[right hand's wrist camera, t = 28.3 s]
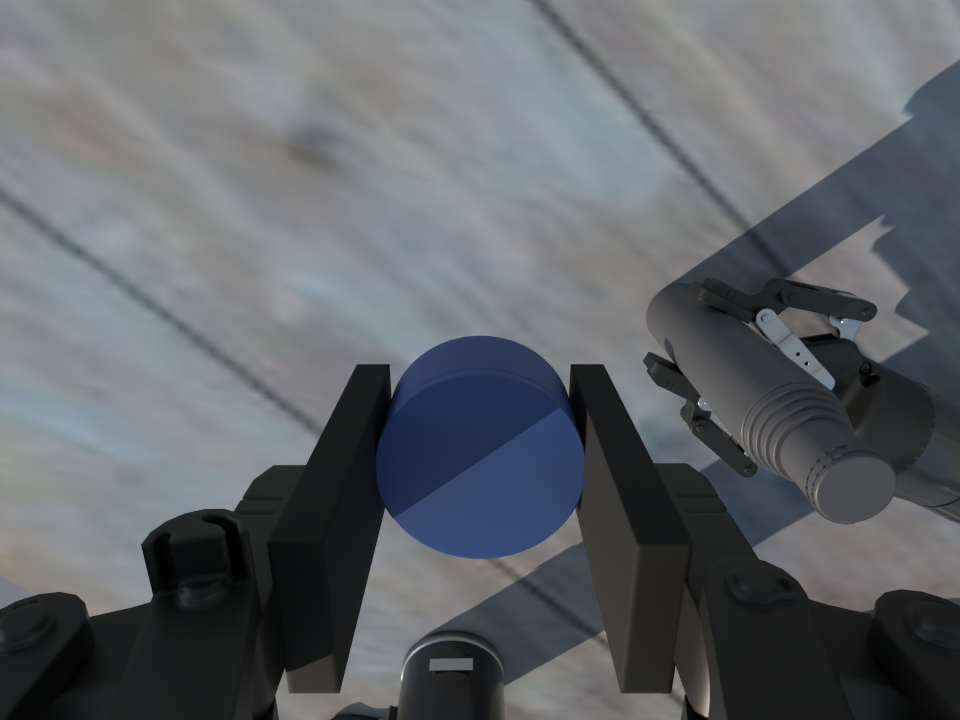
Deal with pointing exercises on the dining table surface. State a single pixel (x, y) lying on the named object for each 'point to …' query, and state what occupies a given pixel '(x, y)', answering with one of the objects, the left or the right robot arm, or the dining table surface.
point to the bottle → (773, 407)
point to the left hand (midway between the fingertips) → (671, 326)
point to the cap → (480, 449)
